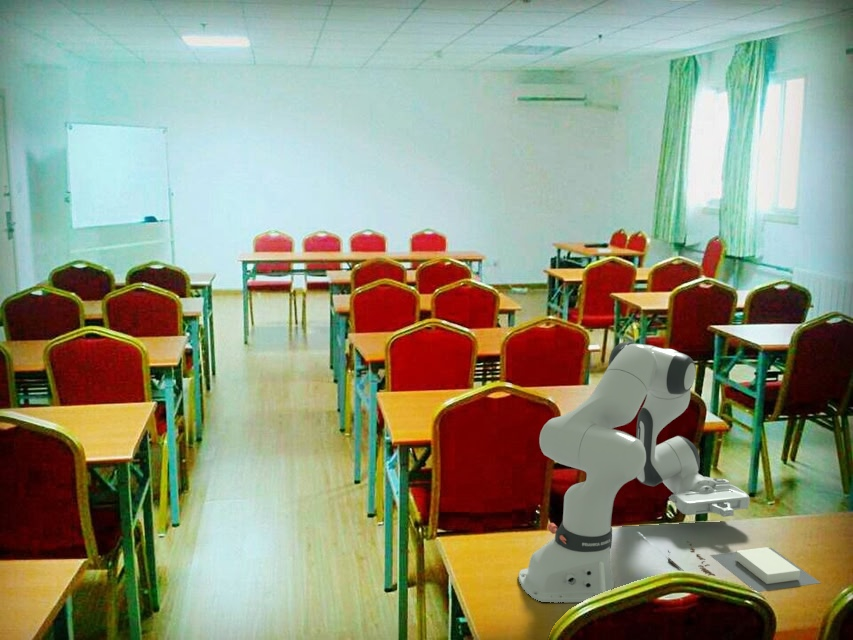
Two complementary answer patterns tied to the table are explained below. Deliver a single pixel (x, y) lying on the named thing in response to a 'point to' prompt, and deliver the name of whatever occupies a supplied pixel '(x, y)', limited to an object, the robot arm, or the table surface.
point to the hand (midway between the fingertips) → (729, 513)
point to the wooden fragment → (698, 566)
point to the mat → (753, 580)
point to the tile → (767, 565)
